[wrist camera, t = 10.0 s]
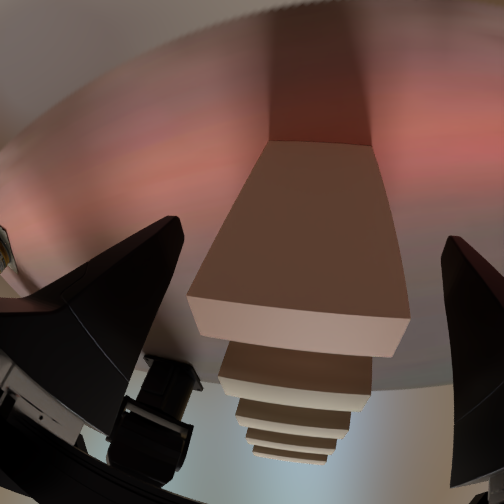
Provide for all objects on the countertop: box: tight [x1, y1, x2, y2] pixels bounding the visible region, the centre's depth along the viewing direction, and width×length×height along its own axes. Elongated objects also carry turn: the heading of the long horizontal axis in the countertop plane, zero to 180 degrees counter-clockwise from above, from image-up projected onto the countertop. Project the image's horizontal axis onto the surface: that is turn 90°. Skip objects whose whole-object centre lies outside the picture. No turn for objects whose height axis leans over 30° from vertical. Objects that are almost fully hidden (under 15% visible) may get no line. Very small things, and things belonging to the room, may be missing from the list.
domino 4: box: [218, 341, 372, 412], centre depth 13 cm, size 2×5×10 cm, turn 96°
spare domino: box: [186, 141, 411, 358], centre depth 10 cm, size 2×5×10 cm, turn 96°
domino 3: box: [235, 398, 351, 439], centre depth 16 cm, size 2×5×10 cm, turn 96°
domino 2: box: [246, 427, 337, 455], centre depth 18 cm, size 2×5×10 cm, turn 96°
